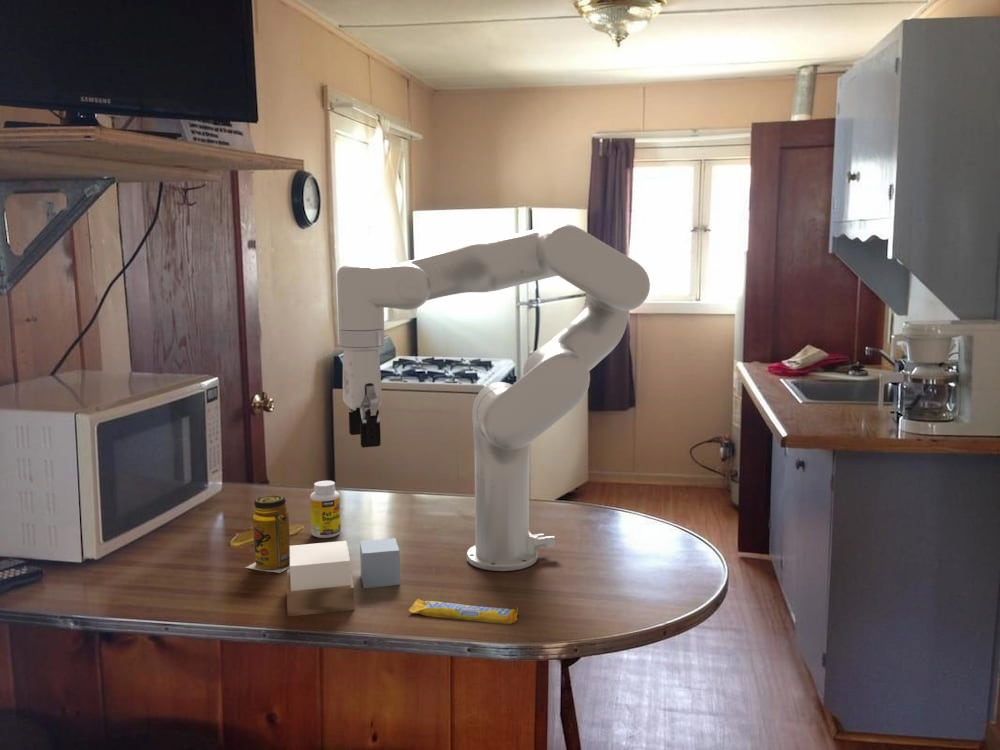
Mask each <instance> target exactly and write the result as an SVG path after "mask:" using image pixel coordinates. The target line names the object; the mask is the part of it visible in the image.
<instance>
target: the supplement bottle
mask: <svg viewBox="0 0 1000 750" xmlns="http://www.w3.org/2000/svg"><path fill="white" fill-rule="evenodd" d="M309 498H310V499H309V500H310V502H309V503H310V504H309V505H310V531H311V535H312V536H313V537H315V538H319V539H329V538H333V537H336V536H338V535H339V534H340V533H341V502H340V501H341V499H340V498H341V497H340V492H338V491H337V490H336V483H335V481H333V480H321V481H320V480H319V481H316V482H314V483H313V492H312V493H311V494H310V497H309Z"/></svg>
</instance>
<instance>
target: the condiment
mask: <svg viewBox="0 0 1000 750" xmlns="http://www.w3.org/2000/svg"><path fill="white" fill-rule="evenodd" d="M286 501H287V500H286V498H285V497H284V496H283V495H278V494H270V495H263V496H260V497H258V498H255V500H254V514H253V517H252V525H253V541H254V542H253V543H254V544H253V545H254V559H255V561H254V562H253V563H252V564H249V565H248V566H245V567H244V568H245V569H250V570H256V571H260V572H266V573H270V572H271V573H272V572H273V573H277V574H280V573H282V572H284V571H286V570H288V569H290V546H291V538H290V537H291V536H290V518H289V517H290V516H289V513H288V510H287V505H286V503H287V502H286Z"/></svg>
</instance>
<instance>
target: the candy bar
mask: <svg viewBox="0 0 1000 750" xmlns="http://www.w3.org/2000/svg"><path fill="white" fill-rule="evenodd" d="M407 610H408V612H410V613H411V614H419V615H421V616H426V617H433V618H443V619H444V618H445V619H454V620H455V619H456V620H464V621H474V622H482V623H483V622H484V623H493V624H506V625H512V624H515V623H516V621H518V614H519V608H518V607H517V606H516V609H514V608H512V609H511V608H510V609H509V608H503V607H491V606H480V605H479V606H478V605H477V606H476V605H469V604H468V605H467V604H461V603H452V602H444V601H435V600H422V599H420V598H417V599H416V600H415V601H414V602H413V603H412V605H411V606H410V607H409V608H408V609H407Z"/></svg>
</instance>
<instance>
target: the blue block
mask: <svg viewBox="0 0 1000 750" xmlns="http://www.w3.org/2000/svg"><path fill="white" fill-rule="evenodd" d="M359 557H360V558H359V559H360V560H359V562H360V579H361V583H362V588H363V589H367V588H368V589H369V588H378V587H389V586H398V585H399V586H400V585H401V567H400V566H401V562H400V558H401V557H400V548H399V545H398V543H397V538H396V537H392V538H379V539H367V540H359Z"/></svg>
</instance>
